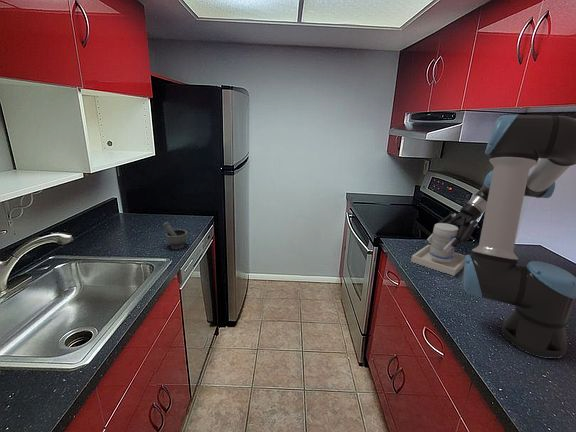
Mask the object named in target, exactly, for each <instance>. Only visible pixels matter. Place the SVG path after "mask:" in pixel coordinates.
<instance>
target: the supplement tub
mask: <svg viewBox="0 0 576 432" xmlns="http://www.w3.org/2000/svg"><path fill="white" fill-rule="evenodd" d="M434 225H435V226H433V230H432V232H433V235H432V234H431V235H432V241H431V244H430V245H431V247H430V253H429V255H430V257H431V258H432V259H434V260H437V261H441V262H449V261H452V259H453V256H454V252H455V250H456V247H453V248H452V249H451V250H450V251H449V252H448V253H446V252H445V251H444V249H443V248H444V247H445V246H446V245H447V244H448V243H449V242H450V241H451V240H452V239H453V238H456V237H457V235H458V232H459V227H458V226H457V225H456V226H454V225H451V224H446V223H438V222H437V223H435V224H434ZM456 239H457V238H456Z"/></svg>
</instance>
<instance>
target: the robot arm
mask: <svg viewBox="0 0 576 432" xmlns="http://www.w3.org/2000/svg"><path fill="white" fill-rule="evenodd" d="M484 154H485V155H487V156H489V160H488V161H489V163H490V164H491V165H492V166H493V170H491V171H489V173H487V175H486V176H485V178H484V180H483V184H482V186H481V188H480V189H479V190H478V191H477V192H476V193H475V194H474V195H473V196H472V197H471V198H470V199H469V200H468V201H467V203H465V204H464V205H463V206H462V207H461V208H460V210H459V212H458V213H455V212H454V211H451V212H450V213H449V214H448V215H447V216H445V217H444V218H443V219H441V220H439V221H438V222H437V223H446V224H451V225H454V226H456V227H457V226H459V228H458V235H457V237H456V238H457V239H456V238H453V239H452V240H451V241H450V242H449V243H448V244H447V245H446V246H445V247H444V248H443V249H444V251H445V252H446V253H448V252H449V251H450V250H451V249H452V248H453V247H455V248H456V247H457V246H458V245H459V244H461V243H464V244H466V243H467V242H468V241H469V239H470V238H471V236H472V234H473V233H474V231H475V230H476V229H477V228H478V227H479V224H478V222H477V220H478V219H479V218H480V217H481V216H482V214H484V215H483V217H484V218H483V221H482V222H483V223H482V228H481V231H480V238H479V241H478V242H479V243H478V245H477V246H475V247H474V248H472V249H471V253H470V254H466V256H465V261H464V268H463V289H464V291H465V292H466V293H467V294H469V295H471V296H475V297H478V298H481V299H486V300H490V301H494V302H499V303H501V304H502V303H503V304H507V305H511V306H514V309H513V311H512V312H511V313H510V314H509V315H508V316H507V317H506V319H505V320H504V321H503V322H502V326H501V329H502V332H501V334H502V333H503V334H504V336H505V337H506V338H507V339H508V340H509V341H510V342H511V343H513V344H514V345H515V346H517V347H519V348H521V349H523V350H524V351H527V352H529V353H531V354H534V355H538V356H543V357H560V356H562V355H564V354H566V352H567V349H568V341H567V332H566V325H567V323H568V321H569V317H570V315H571V312H572V309H573V307H574V303H575V301H576V276H575V275H573V274H572V273H571V272H569V271H567V270H565V269H563V268H561V267H559V266H557V265H554V264H552V263H549V262H548V263H547V262H545V261H540V260H532V261H531V260H530V261H529V262H528V263H527V264H526V266H525V265H520V264H518V262H519V257H518V256H517V255H516V254H515V253H514V248H515V245H516V244H515V243H516V238H517V234H518V229H519V223H520V218H521V214H522V213H521V212H522V209H523V203H524V199H525V197H532V198H537V199H541V198H542V199H549V198H551V197H552V196H553V194H554V191H555V188H556V181H557V180H558V179H559V178H560V177H561V176H562V175H563V174H564V173H565V172H567V170H568V169H569V168H570V167H572V166H575V165H576V118H574V117H570V116H566V115H541V114H540V115H537V114H536V115H534V114H518V113H517V114H505V115H501V116H499V117H498V118H497V119H496V121H495V123H494V126H493V128H492V131H491V134H490V136H489V139H488V142H487V145H486V148H485V151H484ZM539 159H540V160H539ZM532 168H533V169H532ZM531 169H532V170H531ZM530 170H531V172H530ZM434 226H435V224H434ZM434 226H433V227H434ZM432 235H433V231H432V232H431V234H430V236H428V238H427V239H426V241H427V242H428V243H429V245H431V241H432ZM504 336H503V337H504ZM511 343H510V344H511ZM515 346H514V347H515ZM524 351H523V352H524ZM531 354H530V355H531ZM564 356H565V355H564Z"/></svg>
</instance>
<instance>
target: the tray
mask: <svg viewBox="0 0 576 432" xmlns="http://www.w3.org/2000/svg"><path fill="white" fill-rule="evenodd" d="M430 247H431V244H427V245H426V246H424V247H422V248H420V249H419V250H418V251H417V252H415V253H414V254H412V255H411V258H410V263H411V262H413V263H412V264H414V263H416V264H415V265H417V264H419V265H418V266H420V265H422V266H421V267H423V266H425V267H424V268H426V267H428V268H431V269H434V270H437V271H440V272H443V273H447V274H450V275H453V276H455V275H456V274H457V273H458V272H459V271H460V270H461V269H462V268H463V267H464V261H465V256H466V255H467V254H466V255H465V254H461V253H459V252H455V251H454V256H453V259H452V261H449V262H441V261H437V260H434V259H432V258H431V257H430V255H429V253H430ZM428 268H427V269H428ZM431 269H430V270H431ZM463 269H464V268H463ZM463 269H462V270H463ZM434 270H433V271H434ZM462 270H461V271H462ZM437 271H436V272H437ZM461 271H460V272H461ZM440 272H439V273H440ZM460 272H459V273H460ZM443 273H442V274H443ZM459 273H458V274H459ZM458 274H457V275H458ZM457 275H456V276H457ZM456 276H455V277H456Z"/></svg>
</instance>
